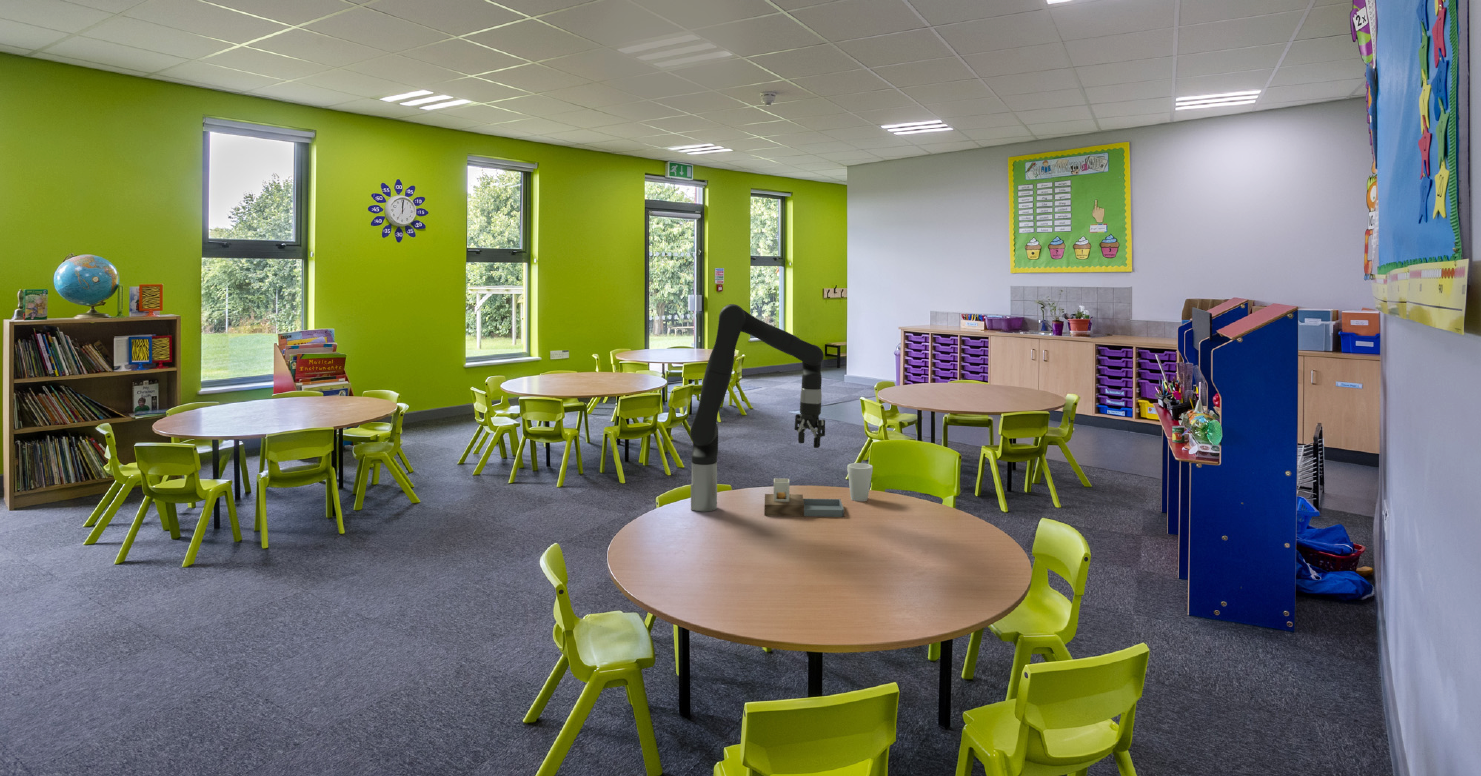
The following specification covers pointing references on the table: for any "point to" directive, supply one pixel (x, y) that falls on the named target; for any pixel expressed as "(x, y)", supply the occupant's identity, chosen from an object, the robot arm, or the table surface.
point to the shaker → (781, 489)
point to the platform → (784, 506)
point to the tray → (823, 507)
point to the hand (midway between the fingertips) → (808, 445)
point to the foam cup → (859, 480)
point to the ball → (781, 495)
